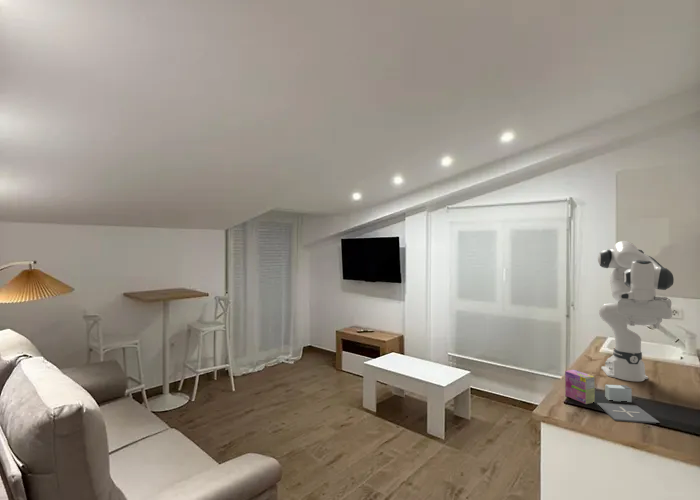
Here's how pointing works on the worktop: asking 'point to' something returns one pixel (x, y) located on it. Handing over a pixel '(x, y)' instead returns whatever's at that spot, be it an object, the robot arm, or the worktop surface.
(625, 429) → the worktop surface
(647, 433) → the worktop surface
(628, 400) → the block
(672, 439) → the worktop surface
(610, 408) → the mat
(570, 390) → the box
